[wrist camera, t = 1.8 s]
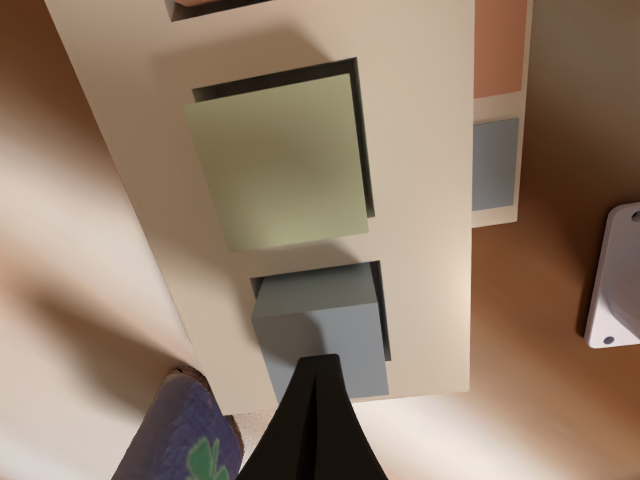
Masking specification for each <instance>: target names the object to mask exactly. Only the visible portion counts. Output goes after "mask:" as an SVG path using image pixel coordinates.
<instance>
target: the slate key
mask: <svg viewBox="0 0 640 480" xmlns="http://www.w3.org/2000/svg"><path fill="white" fill-rule="evenodd" d="M251 321H252V324H253V327H254V331H255V334H256V337H257V340H258V343H259V346H260V349H261V352H262V355H263V358H264V362H265V365H266V368H267V371H268V374H269V377H270V380H271V383H272V386H273V389H274V393H275V396H276V399H277V402H278V405H279V404H280V402H281V400H282V398H283V396H284V393H285V391H286V389H287V387H288V384H289V382H290V380H291V377H292V375H293V372H294V370H295V367H296V365H297V362H298V360H299V359H300V357H307V356H316V355H325V354H333V353H336V354H338V355H339V357H340V362H341V367H342V372H343V377H344V382H345V387H346V391H347V394H348V397H349V399H353V398H363V397H372V396H382V395H389V389H388V381H387V373H386V365H385V357H384V349H383V341H382V333H381V325H380V317H379V309H378V301H377V297H376V292H375V287H374V283H373V278H372V273H371V269H370V264H369V262H363V263H356V264H349V265H341V266H334V267H327V268H320V269H313V270H305V271H298V272H291V273H284V274H277V275H269V276H264V279H263V282H262V285H261V288H260V291H259V294H258V298H257V301H256V304H255V307H254V310H253V313H252V316H251Z"/></svg>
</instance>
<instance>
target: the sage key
mask: <svg viewBox="0 0 640 480" xmlns="http://www.w3.org/2000/svg"><path fill="white" fill-rule="evenodd" d="M182 108H183V111H184V114H185V117H186V120H187V123H188V126H189V129H190V132H191V136H192V139H193V142H194V145H195V148H196V151H197V154H198V157H199V160H200V163H201V167H202V170H203V173H204V176H205V179H206V182H207V185H208V188H209V191H210V194H211V197H212V201H213V204H214V207H215V210H216V213H217V216H218V219H219V222H220V225H221V228H222V232H223V235H224V238H225V241H226V244H227V247H228V250H229V253H234V252H240V251H247V250H254V249H261V248H268V247H274V246H281V245H288V244H295V243H302V242H308V241H315V240H322V239H329V238H336V237H342V236H349V235H356V234H363V233H369V228H368V220H367V212H366V204H365V196H364V188H363V180H362V172H361V164H360V156H359V148H358V140H357V132H356V124H355V116H354V108H353V100H352V92H351V84H350V75H349V74H341V75H336V76H331V77H326V78H321V79H315V80H310V81H305V82H300V83H295V84H289V85H284V86H279V87H274V88H269V89H263V90H258V91H253V92H248V93H243V94H237V95H232V96H227V97H222V98H217V99H212V100H207V101H202V102H197V103H192V104H188V105H183V106H182Z"/></svg>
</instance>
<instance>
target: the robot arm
mask: <svg viewBox="0 0 640 480" xmlns="http://www.w3.org/2000/svg"><path fill="white" fill-rule="evenodd" d="M635 212H637V214H636V215H635V216H634V217H633V218H632V215H633V214H634V213H635ZM584 341H585V342H586V343H587V345H588V346H589V347H591V348H603V347H612V346H622V345H631V344H640V202H637V203H630V204H623V205H619V206H617V207H615V208H614V209H612V210H611V212H610V213H609V215H608V218H607V223H606V228H605V233H604V239H603V244H602V249H601V254H600V259H599V264H598V269H597V274H596V279H595V285H594V290H593V295H592V300H591V305H590V310H589V315H588V320H587V325H586V330H585V336H584ZM235 480H388V478H387V477H386V475H385V473H384V471H383V469H382V468H381V466H380V464H379V462H378V460H377V459H376V457H375V455H374V453H373V451H372V449H371V447H370V445H369V443H368V441H367V439H366V437H365V435H364V433H363V431H362V428H361V426H360V424H359V422H358V419H357V417H356V415H355V412H354V410H353V407H352V405H351V402H350V399H349V397H348V394H347V391H346V387H345V382H344V377H343V372H342V367H341V362H340V357H339V355H338V354H336V353H333V354H325V355H316V356H307V357H300V359H299V360H298V362H297V365H296V367H295V370H294V372H293V375H292V377H291V380H290V382H289V384H288V387H287V389H286V391H285V393H284V396H283V398H282V400H281V402H280V404H279V406H278V408H277V410H276V412H275V414H274V416H273V418H272V420H271V422H270V423H269V425H268V427H267V429H266V431H265V432H264V434H263V436H262V438H261V440H260V441H259V443H258V445H257V446H256V448H255V450H254V451H253V453H252V455H251V456H250V458H249V459H248V461H247V462H246V464H245V465H244V467H243V469H242V470H241V471H240V473H239V474H238V476H237V477H236V479H235Z"/></svg>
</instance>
